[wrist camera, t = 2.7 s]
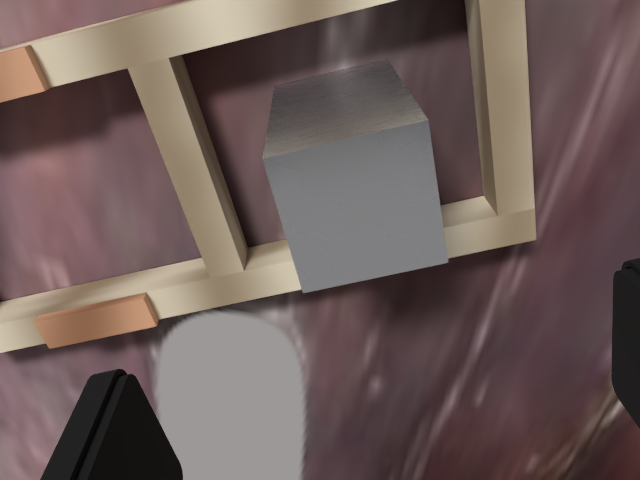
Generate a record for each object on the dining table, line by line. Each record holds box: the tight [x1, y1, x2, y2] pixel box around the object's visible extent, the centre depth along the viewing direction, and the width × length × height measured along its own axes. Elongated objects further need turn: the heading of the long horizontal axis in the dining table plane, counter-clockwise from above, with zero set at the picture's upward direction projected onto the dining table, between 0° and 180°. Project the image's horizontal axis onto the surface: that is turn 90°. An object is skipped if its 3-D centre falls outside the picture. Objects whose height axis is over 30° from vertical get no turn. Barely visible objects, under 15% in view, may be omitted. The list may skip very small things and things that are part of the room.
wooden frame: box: [0, 0, 536, 353], centre depth 22 cm, size 26×12×2 cm, turn 103°
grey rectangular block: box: [263, 59, 448, 293], centre depth 19 cm, size 4×4×8 cm
